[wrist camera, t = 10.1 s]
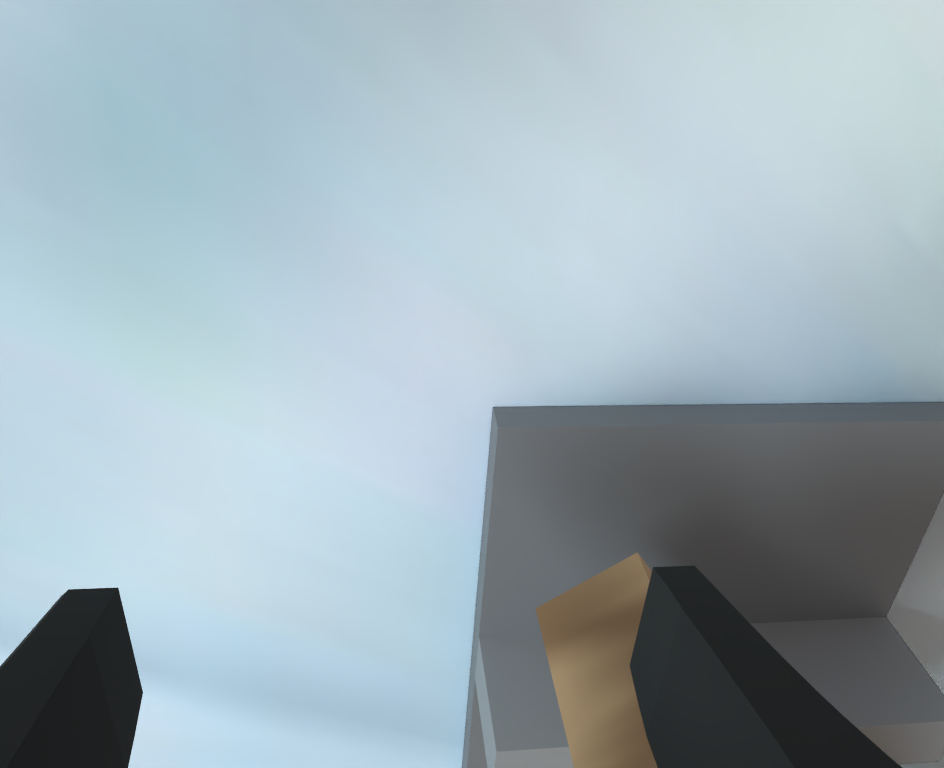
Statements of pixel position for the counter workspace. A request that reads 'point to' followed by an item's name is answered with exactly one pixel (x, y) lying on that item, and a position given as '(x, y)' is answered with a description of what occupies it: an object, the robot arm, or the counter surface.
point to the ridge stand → (711, 548)
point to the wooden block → (599, 665)
